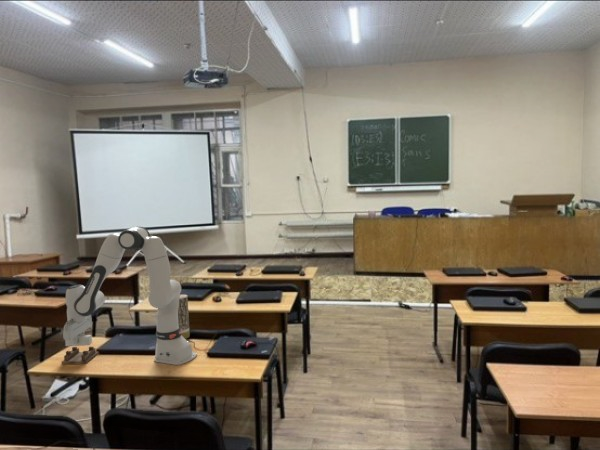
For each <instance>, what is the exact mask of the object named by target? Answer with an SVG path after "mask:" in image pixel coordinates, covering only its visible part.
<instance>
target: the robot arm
mask: <svg viewBox="0 0 600 450" xmlns="http://www.w3.org/2000/svg"><path fill="white" fill-rule="evenodd" d="M125 251H136V252H138V251H141V252H142V253H143V256H144V260H145V261H144V262H145V264H146V265H145V266H146V269H147V273H148V281H149V294H148V298H147V299H148V302H149V305H150V306H151V307H153V308H155V309H157V312H156V314H155V322H156V324H155V325H156V330H155V337H156V343H155V352H154V353H155V354H154V355H155V356H154V358H153V361H154V362H156V363H160V364H161V363H162V364H167V365H173V366H178V365H179V366H180V365H183V364H186V363H189V362H190V361H193V360H194V359H195V358H197V356H198V353H197V352H196V351H195V352H194V351H193V348H192V345H191V343H190V341H188V340H187V338H186V339H185V338H184V337H183V336H182V334H181V332H182V331H180V328H179V324H178V308H179V299H180V295H181V291H182V285H181V284H180V282H179V281H178V280H177V279H171V273H172V272H171V270H172V268H171V264H170V260H169V256H168V252H167V249H166V247H165V243H164V241H163V240H162V238H161V237H159V236H151V235H150V232H149V230H148V229H147V228H145V227H143V226H132V227H129V228H126V229H123V230H122V231H121V232H120V234H119V233H110V234H108V235H107V237H106V238H105V239H104V241H103V243H102V245H101V247H100V249H99V252H98V255H97V257H96V261H95V263H94V266H93V268H92V271H91V274H90V275H89V278H88V281H87V282H86V285H85V286H84V285H83V284H74V285H72V286H69V287H68V288H67V289H66V291H65V305H66V318H67V320H66V322H65V323H64V326H63V331H62V336H63V340H64V341H65V340H71V339H73V341H74V344H77V343H79V340H77V335H85V333H86V332H85V331H86V330H88V329H89V328H91V327H92V324H93V323H92V320H93V319H92V314H93V313H95V311H97V310H98V309H99V308H100V307H102V305H104V304H105V301H106V296H105V294H104V293H103V292H102V291H101V290H100V289H101V287H102V284H103V283H104V281H105V280H106V278H107V277H108V276H110V275H111V274H112V273H113V272H115V271H116V269H117V268H118V267H119V265H120V263H121V260H122V258H123V257H124V256H123V255H124V253H125ZM182 333H183V332H182Z"/></svg>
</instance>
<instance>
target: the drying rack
mask: <svg viewBox="0 0 600 450" xmlns="http://www.w3.org/2000/svg"><path fill="white" fill-rule="evenodd" d="M99 354H100V353H99V351H96V347H94V346H88V350H83V351H80V348H79V347H78V346H71V350H66V351H65V355H63V360H61V365H75V364H76V365H83V364H84V365H86V364H88V363H90V362H91V360H93V359H94V358H96V357H97V356H98V355H99Z"/></svg>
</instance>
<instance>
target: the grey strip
mask: <svg viewBox="0 0 600 450" xmlns="http://www.w3.org/2000/svg"><path fill="white" fill-rule="evenodd" d="M77 340H79V343H77V344H74V341H73V339H71V340H64V341H65V342H64V344H65V347H78V346H79V347H81V346H91V344H93V336H92V334H84V335H80V334H79V335H77Z"/></svg>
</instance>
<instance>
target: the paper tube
mask: <svg viewBox="0 0 600 450" xmlns="http://www.w3.org/2000/svg"><path fill="white" fill-rule="evenodd" d="M189 315H190V314H189V298H188V295H187V294H180V299H179V308H178V324H179V328H180V331H182V332H183V333H182V332H181V334H182V336H183V337H184V338H185V339H186V340H187V339H188V338H190V336H191V335H190V317H189Z"/></svg>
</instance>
